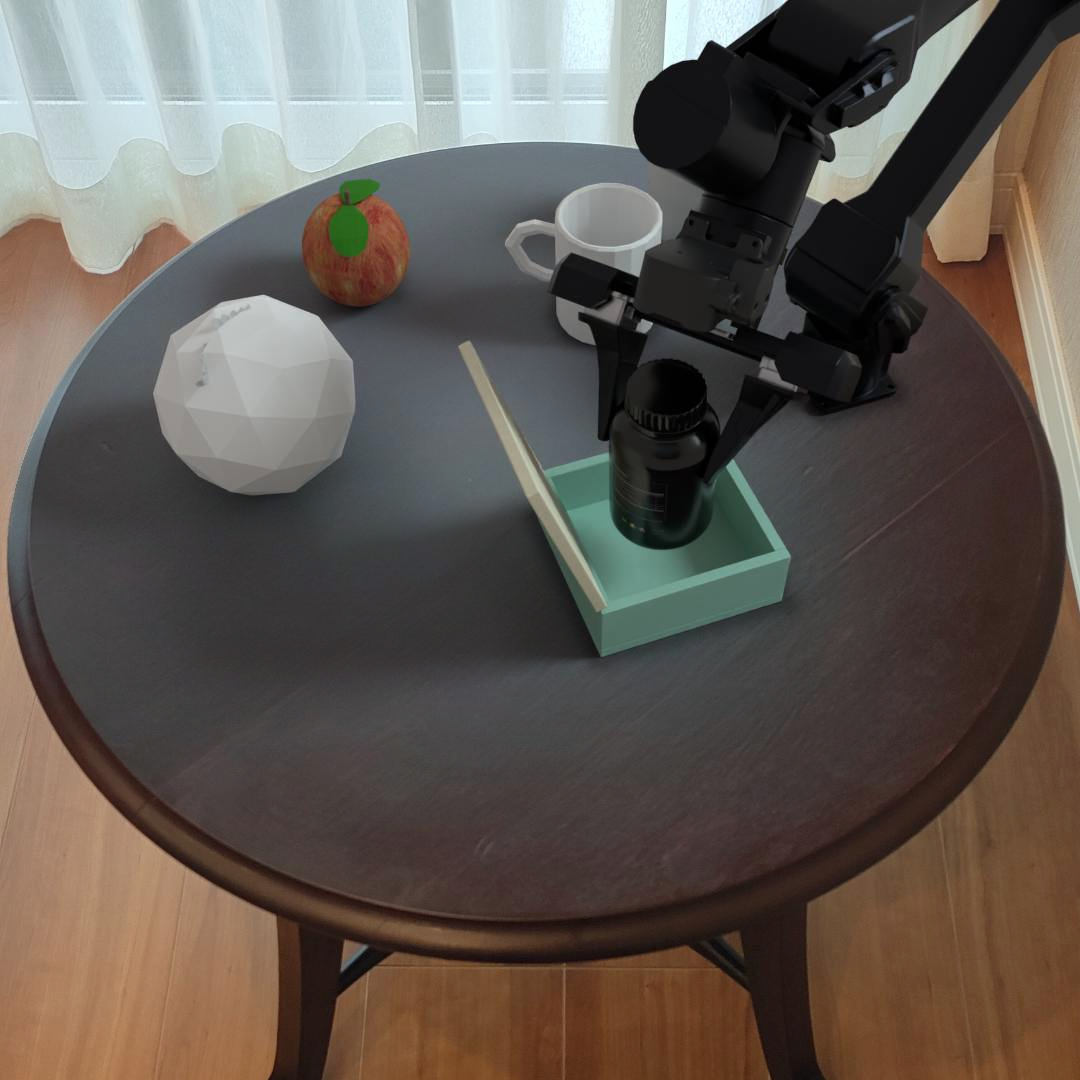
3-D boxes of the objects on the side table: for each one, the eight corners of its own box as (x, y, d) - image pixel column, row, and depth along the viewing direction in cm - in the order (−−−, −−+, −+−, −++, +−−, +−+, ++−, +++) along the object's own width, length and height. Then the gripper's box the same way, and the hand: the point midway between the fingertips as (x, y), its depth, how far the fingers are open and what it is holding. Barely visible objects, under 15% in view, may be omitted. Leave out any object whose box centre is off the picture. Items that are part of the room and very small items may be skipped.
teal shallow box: (706, 469, 96) (711, 422, 92) (781, 601, 89) (791, 556, 85) (537, 517, 94) (535, 471, 90) (600, 657, 86) (602, 614, 83)
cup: (709, 276, 109) (719, 176, 101) (624, 244, 112) (627, 144, 104) (752, 222, 113) (766, 122, 106) (669, 192, 116) (676, 92, 108)
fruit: (295, 321, 107) (272, 222, 99) (332, 246, 113) (313, 146, 105) (397, 335, 106) (382, 236, 98) (429, 258, 111) (417, 159, 103)
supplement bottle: (644, 458, 89) (650, 328, 80) (731, 502, 87) (749, 373, 77) (587, 524, 86) (587, 397, 76) (676, 572, 83) (687, 446, 74)
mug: (513, 276, 110) (508, 178, 102) (657, 281, 109) (663, 182, 101) (504, 343, 105) (498, 246, 97) (655, 349, 104) (661, 251, 96)
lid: (469, 339, 78) (457, 345, 78) (539, 491, 71) (526, 497, 71) (540, 464, 90) (530, 470, 90) (607, 607, 82) (596, 613, 82)
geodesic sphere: (305, 538, 85) (321, 318, 82) (101, 504, 88) (108, 287, 84) (376, 491, 100) (392, 301, 96) (199, 462, 102) (208, 276, 98)
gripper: (558, 138, 73) (467, 403, 76) (877, 242, 67) (764, 526, 70) (623, 176, 83) (540, 409, 86) (904, 270, 77) (804, 517, 80)
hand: (653, 461), depth 80 cm, fingers closed on supplement bottle, 7 cm apart
